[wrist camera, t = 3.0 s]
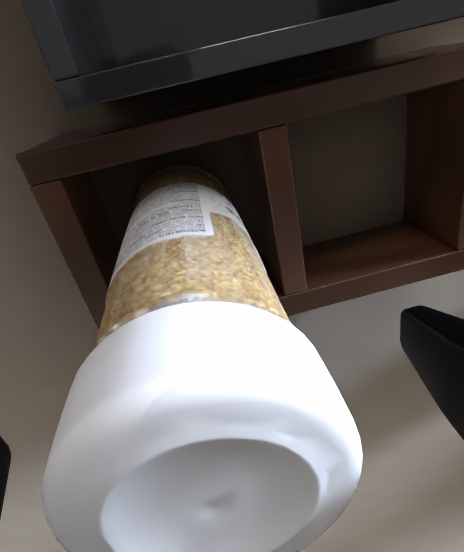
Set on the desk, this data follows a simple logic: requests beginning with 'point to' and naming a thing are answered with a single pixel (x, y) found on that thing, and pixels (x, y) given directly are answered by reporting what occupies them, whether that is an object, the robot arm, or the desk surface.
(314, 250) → the rack
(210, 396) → the sprinkles bottle
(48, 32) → the dark grey open box
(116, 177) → the desk surface
